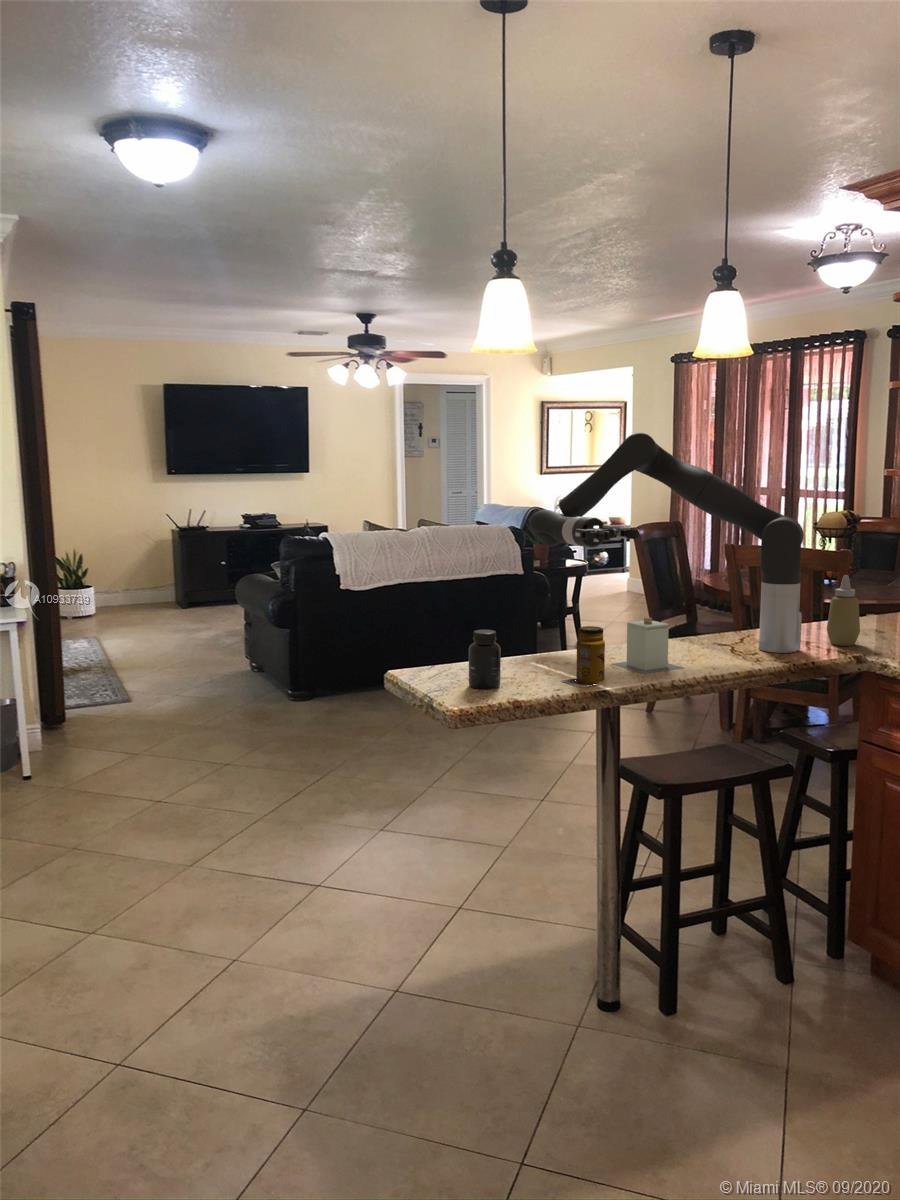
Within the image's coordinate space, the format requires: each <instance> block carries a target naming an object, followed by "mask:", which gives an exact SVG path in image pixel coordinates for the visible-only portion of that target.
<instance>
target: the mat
mask: <svg viewBox="0 0 900 1200" xmlns="http://www.w3.org/2000/svg"><path fill="white" fill-rule="evenodd" d="M611 666H616V667H618V668H622V669H626V670H629V671H632V672H636V673H639V674H642V675H647V674H654V673H661V672H668V671H674V670H683V669H684V667H683V666H679V665H676V664H672V663H668V667H664V668H657V669H650V670H643V669H639V668H636V667H632V666H629V665H627V661H623V662H621V661H620V662H615V663H614V662H613V663H611Z"/></svg>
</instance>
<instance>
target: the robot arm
mask: <svg viewBox="0 0 900 1200" xmlns="http://www.w3.org/2000/svg"><path fill="white" fill-rule="evenodd" d="M634 471H636V472H638V473H641V474H643V475H645V476H648V477H650V478H652V479H654V480H656V481H658V482H659V483H662V484H664V485H665V486H667V487H668V488H669V489H671V490H672V491H674V492H675V493H676V494H677V495H678V496H679V497H681V498H683V499H684V500H685V501H687V502H689V503H690V504H692V505H693V506H695V507H696V508H698V509H700V510H702V511H703V512H705V513H706V514H708V515H711V516H713V517H714V518H717V519H719V520H722V521H723V522H727V523H729V524H732V525H735V526H737V527H740V528H742V529H744V530H746V531H747V532H749V533H751V534H752V535H753V536H755V537H756V538H758V539H759V540H761V542H760V543H761V545H760V572H761V573H760V574H761V580H760V582H761V583H760V588H761V589H760V606H759V607H760V610H759V613H760V614H759V632H758V633H759V634H758V635H759V636H758V650H761V651H763V652H770V653H775V654H777V653H779V654H787V653H789V654H790V653H796V652H798V651H799V650H801V643H802V642H801V641H802V623H803V622H802V621H803V620H802V619H803V617H802V616H803V613H802V612H801V611H800V602H801V582H802V581H801V580H802V571H801V560H802V559H801V557H802V553H801V552H802V544H803V542H804V538H805V533H804V530H803V527H802V525H801V524H800V523H799V522H798V521H797V520H795V519H793V518H791V517H790V516H789V517H788V516H786V515H785V514H784V515H783V514H781V513H779V512H777V511H775V510H772V509H771V508H768V507H766V506H764V505H763V504H760V502H757V501H756V500H754V499H753V498H752V497H750V496H749V495H747V494H746V493H745V492H744V491H742V490H740V489H739V488H737V487H735V486H734V485H733V484H731V483H730V482H728V481H726V480H725V479H724V478H721V477H720V476H718V475H715V473H712V472H711V471H709V470H706V469H703V468H701V467H699V466H696V465H694V464H691V463H688V462H685V461H683V460H680V459H679V458H677V457H675V456H674V455H673V454H671V453H670V452H668V451H666V450H665V449H664V448H662V446H660V445H659V444H657V443H656V441H655V440H654V439H653V437H652V436H650V435H649V434H648V433H644V432H636V433H635V432H634V433H632V434H630V435H628V436H627V437H626V438H625V439H624V441H622V442H621V444H620V445H619V446H618V448H616V449H615V451H614V452H613V453H612V454H611V455H610V457H609V458H608V459H606V461H604V463H602V465H601V466H600V467H598V468H597V469H596V470H595V471H594V472H593V473H592V474H591V475H590V476H589V477H587V478H586V479H585V480H584V481H583V482H581V483H580V484H579V485H578V486H576V487H575V488H574V489H573V490H572V491H571V492H569V493H568V494H567V495H566V496H565V497H563V498H562V499H561V500H560V501H559V503H558V507H559V510H560V511H561V513H562V514H561V513H559V512H556V511H553V510H550V509H541V510H540V509H539V510H538V511H536V512H534V513H533V514H532V515H531V517H530V518H529V522H528V523H529V524H528V525H529V529H530V530H531V531H532V533H533V534H534V535H535V536H536V537H537V538H538V540H540V541H541V542H542V543H543V544H544V545H545V546H547V547H549V548H552V547H555V546H558V545H560V544H569V545H573V546H576V547H577V546H578V547H582V548H583V547H584V548H596V547H599V546H600V545H601V544H602V543H603V542H609V541H621V539H625V540H628V539H631V540H639V530H638V529H635V528H634V527H624V526H623V527H622V526H620V525H619V526H618V525H614V526H613V525H610V524H604V522H603V521H602V520H601V519H600V518H597V517H592V516H591V517H589V516H585V515H586V514H588V512H590V511H591V510H592V509H593V508H595V506H596V505H598V504H599V503H600V502H601V501H602V499H603V498H604V497H605V496H606V495H607V494H608V493H609V491H610V490H611V489H612V488H613V487H614V486H616V485H617V483H619V481H621V480H622V479H624V478H625V476H627V475H629V474H631V473H632V472H634Z"/></svg>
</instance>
